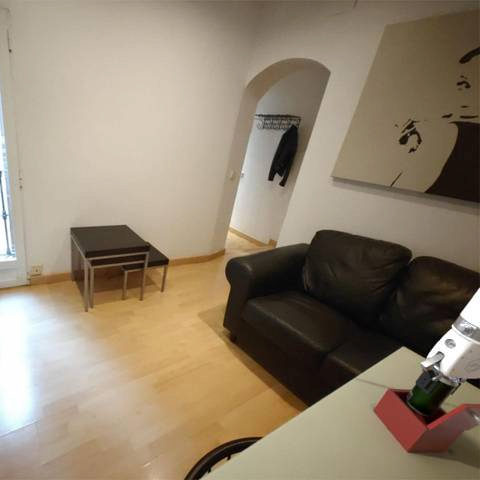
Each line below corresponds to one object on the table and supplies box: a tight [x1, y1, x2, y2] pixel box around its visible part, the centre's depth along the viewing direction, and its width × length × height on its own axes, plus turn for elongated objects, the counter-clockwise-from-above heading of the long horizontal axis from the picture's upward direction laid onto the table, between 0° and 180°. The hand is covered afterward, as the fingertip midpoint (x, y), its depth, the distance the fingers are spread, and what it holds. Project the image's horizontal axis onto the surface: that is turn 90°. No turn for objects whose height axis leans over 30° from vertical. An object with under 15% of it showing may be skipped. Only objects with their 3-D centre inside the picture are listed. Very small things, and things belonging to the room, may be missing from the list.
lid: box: [427, 403, 480, 431], centre depth 56 cm, size 11×11×5 cm
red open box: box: [372, 388, 466, 453], centre depth 67 cm, size 10×11×9 cm
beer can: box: [406, 364, 460, 416], centre depth 64 cm, size 5×5×12 cm
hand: (433, 388), depth 64 cm, fingers closed on beer can, 5 cm apart
